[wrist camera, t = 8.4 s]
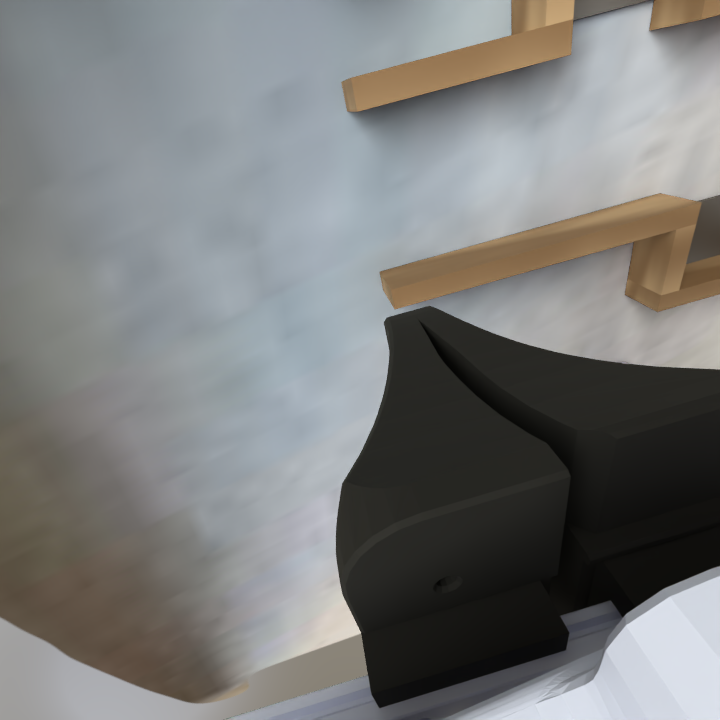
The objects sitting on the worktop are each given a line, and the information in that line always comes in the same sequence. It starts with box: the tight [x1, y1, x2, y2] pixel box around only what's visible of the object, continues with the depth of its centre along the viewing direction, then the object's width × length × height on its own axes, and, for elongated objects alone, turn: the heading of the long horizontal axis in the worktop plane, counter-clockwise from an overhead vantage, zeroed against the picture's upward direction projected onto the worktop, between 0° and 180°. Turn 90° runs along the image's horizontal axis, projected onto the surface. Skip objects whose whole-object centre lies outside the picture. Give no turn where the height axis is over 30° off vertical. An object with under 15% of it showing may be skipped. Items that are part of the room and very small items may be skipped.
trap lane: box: [341, 0, 720, 312], centre depth 17 cm, size 18×27×2 cm
